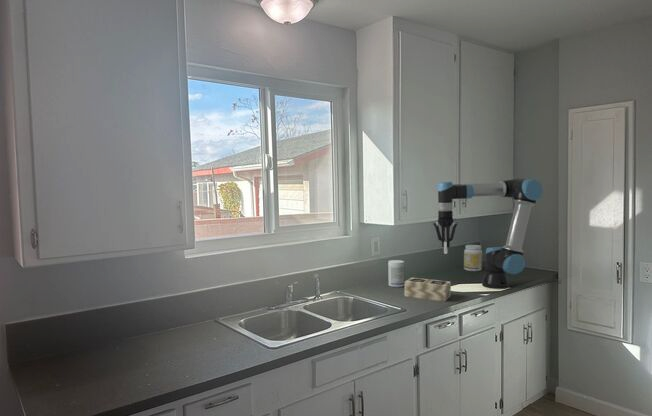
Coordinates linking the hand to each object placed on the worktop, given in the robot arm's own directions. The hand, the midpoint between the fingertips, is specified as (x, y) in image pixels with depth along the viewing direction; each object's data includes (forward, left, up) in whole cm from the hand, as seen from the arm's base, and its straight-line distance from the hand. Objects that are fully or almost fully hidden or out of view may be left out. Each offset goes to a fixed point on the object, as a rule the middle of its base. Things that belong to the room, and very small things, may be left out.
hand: (445, 253), depth 254 cm
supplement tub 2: (-1, -78, -23) cm, 81 cm away
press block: (+7, +8, -23) cm, 26 cm away
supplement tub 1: (+30, -7, -23) cm, 39 cm away
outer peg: (+13, +8, -23) cm, 28 cm away
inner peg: (+2, +8, -23) cm, 25 cm away
